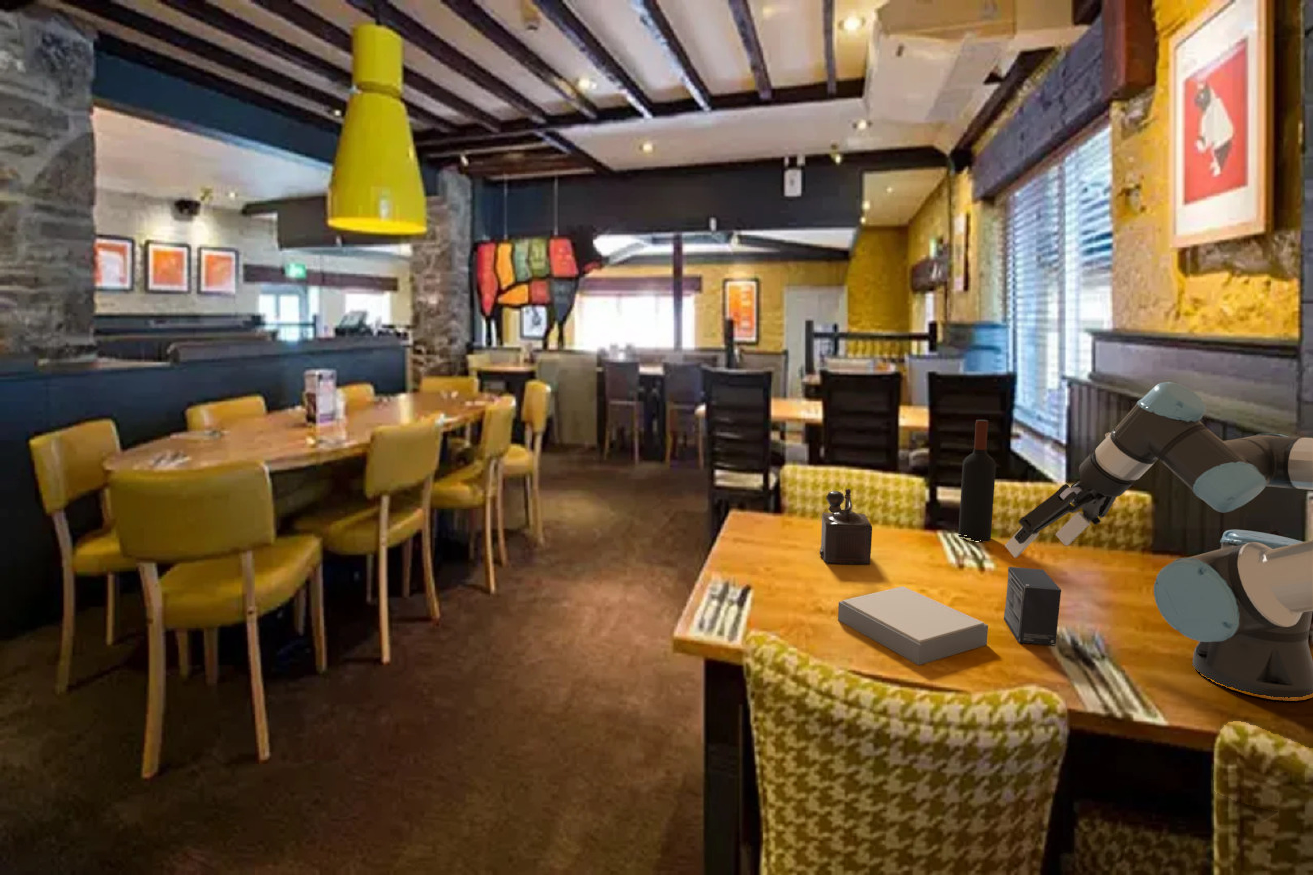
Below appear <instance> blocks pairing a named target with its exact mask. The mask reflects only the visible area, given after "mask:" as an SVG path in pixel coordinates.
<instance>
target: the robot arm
mask: <svg viewBox="0 0 1313 875" xmlns="http://www.w3.org/2000/svg"><path fill="white" fill-rule="evenodd" d="M1206 412H1207V405H1206V403H1205V402H1204V401H1203V400H1202V397H1200V396H1199V395H1198V394H1197V393H1196V392H1194V391H1193V390H1191V389H1190V388H1189V387H1186V386H1184V385H1182V384H1179V383H1177V382H1176V383H1175V382H1171V381H1165V382H1160V383H1158V384H1156V385H1155V386H1154V387H1152V389H1150V390H1149V392H1147V393H1146V394H1145V395H1144V396H1143V397H1142V398H1141V399H1139V400H1137V402H1136V403H1135V405H1134V406H1133V407H1132V408H1131V410H1130V411H1129V412H1128V413H1127V415H1125V416H1124V418H1122V420H1121V421H1120V422H1119V423H1118V424H1117V425H1116V427H1114V428H1113V430H1111V432H1106V433H1105V434H1104V437H1105V439H1103V441H1102V442H1100V444H1098V446H1097V447H1096V449H1095V450H1094V451H1092V452H1091V453H1090V454H1089V455H1088V456H1086V458H1085V459H1084V461H1083V462H1081V464H1080V465H1079V467H1078V473H1079V477H1080V480H1078V481H1075V482H1074V483H1073V484H1072V485H1070V486H1069V485H1068V484H1067V483H1065V484H1063V485H1061V487H1059V489H1057V490H1056V492H1054V493H1053V494H1051V495H1050V496H1049V497H1048V498H1047V499H1045V500H1044V501H1042V503H1040V504H1039V505H1038V506H1036V507H1034V509H1032V510H1031V511H1029V512H1028V513H1027V514H1026V515H1024V516H1022V517H1021V518H1020V519H1019V520H1018V523H1019V524H1020V525H1021V526H1020V528H1019V529H1018V530H1017V531H1016V532H1015V533H1014V535H1013V536H1012V537H1011V538H1010V539H1008V541H1007V542H1006V543H1005V544H1004V547H1005V548H1006V549H1007V550H1008V551H1009V553H1010V554H1011V556H1013V558H1015V559H1016V558H1018V557H1019V556H1020V555H1021V554H1022V553H1023V552H1024V551H1025V550H1026V549H1027V547H1029V546H1030V544H1031V543H1033V541H1034V540H1035V539H1036V538H1037V537H1038V536H1039V535H1040V533H1039V532H1041V531H1042V530H1044V529H1045V528H1046V527H1049V526H1050V525H1051V524H1053V523H1054V522H1056V521H1058V520H1060V519H1061V518H1062V517H1064V516H1065V515H1067V514H1069V513H1071V514H1073V516H1072V517H1070V519H1069V520H1068V521H1067V522H1065V524H1064V525H1063V526H1062V527H1061V528H1060V529H1059V530H1058V531H1057V532H1056V533H1055V536H1056V537H1057V538H1058V539H1059V540H1060V542H1062V544H1063V545H1064V546H1065V547H1066V546H1069V545H1070V544H1071V543H1072V542H1074V540H1075V539H1076V538H1077V537H1078V536H1079V535H1080V534H1081V533H1082V532H1083V531H1084V530H1086V528H1088V526H1090V524H1091V522H1092V524H1093V525H1094V526H1096V525H1098V524H1100V523H1101V521H1102V520H1100V519H1101V518H1104V517H1106V515H1107V514H1108V512H1109V511H1110V509H1111V507H1112V505H1113V504H1114V503H1115V501H1116V499H1117V498H1118V497H1120V496H1122V495H1123V494H1124V493H1125V492H1126V491H1127V490H1128V489H1130V487H1131V486H1133V485H1134V484H1135V482H1136V480H1140V478H1141V477H1142V476H1143V475H1144V474H1145V473H1146V472H1147V471H1148V470H1149V469H1150V468H1151V467H1152V466H1153V465H1154V464H1155V463H1156V462H1157V461H1158V460H1159V461H1160V462H1161V463H1162V464H1163V465H1165V467H1167V468H1168V470H1170V471H1171V473H1173V474H1174V475H1175V476H1177V478H1178V479H1179V480H1180V481H1181V482H1182V483H1183V484H1184V485H1186V487H1187V488H1188V489H1190V490H1191V491H1192V492H1193V493H1194V495H1195V496H1196V497H1197V498H1198V499H1199V500H1202V501H1204V502H1205V503H1206V504H1207V505H1208V506H1210V508H1212V509H1213V510H1215V511H1216V512H1219V513H1229V512H1233V511H1234V510H1236V509H1238V508H1241V507H1243V506H1245V505H1246V504H1247V503H1249V502H1251V501H1252V500H1254V499H1255V498H1256V497H1257V496H1258V495H1260V493H1261V492H1262V491H1264V489H1265V488H1266V487H1274V488H1285V489H1299V490H1300V489H1301V490H1310V491H1313V437H1295V436H1294V437H1293V436H1288V435H1285V434H1280V433H1258V434H1255V435H1251V436H1247V437H1246V436H1245V437H1239V438H1235V439H1228V440H1222V439H1221V438H1220V437H1218V436H1217V435H1216V434H1214V432H1212V431H1211V430H1210V429H1209V428H1208V427H1207V426H1206V425H1205V424H1204V423H1202V422H1201V420H1202V418H1203V416H1204V415H1205V414H1206ZM1079 510H1081V511H1079ZM1074 513H1075V514H1074ZM1219 543H1220V548H1219V549H1215V550H1211V551H1208V552H1205V553H1203V552H1202V553H1201V554H1197V555H1193V556H1189V557H1181V558H1177V559H1174V560H1173V561H1172V562H1170V563H1168V564H1167V565H1165V566H1163V568H1161V569H1160V571H1159V572H1158V573H1157V575H1156V578H1155V582H1154V583H1153V594H1154V595H1153V597H1154V600H1155V604H1156V607H1157V608H1158V611H1159V613H1160V614H1161V616H1162V618H1163V619H1164V620H1165V621H1166V622H1167V623H1168V625H1169V626H1170V627H1172V628H1173V629H1174V630H1176V631H1178V632H1179V633H1180V634H1181V635H1183V636H1184V637H1187V638H1188V639H1190V640H1194V641H1197V645H1196V646H1195V647H1194V650H1193V656H1192V663H1193V664H1192V667H1193V666H1194V667H1195V669H1196V670H1198V671H1199V672H1200V673H1201V674H1203V675H1204V676H1206V677H1207V678H1210V679H1212V680H1214V681H1215V682H1217V683H1220V684H1223V685H1225V686H1227V687H1233V688H1235V689H1238V690H1241V691H1246V692H1250V693H1253V694H1258V695H1266V696H1271V697H1272V696H1273V697H1284V698H1285V697H1288V698H1290V697H1303V696H1306V695H1310V694H1312V693H1313V656H1312V652H1311V649H1310V646H1309V634H1310V629H1311V624H1312V623H1311V622H1312V618H1313V539H1310V540H1307V541H1302V540H1297V539H1294V538H1290V537H1285V536H1281V535H1276V534H1272V533H1267V532H1262V531H1261V532H1260V531H1253V530H1244V529H1228V530H1225V531H1224V532H1223V534H1222V537H1221V538H1220V540H1219ZM1194 667H1193V668H1194ZM1195 669H1194V670H1195ZM1196 670H1195V671H1196Z"/></svg>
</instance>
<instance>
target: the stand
mask: <svg viewBox="0 0 1313 875" xmlns="http://www.w3.org/2000/svg"><path fill="white" fill-rule="evenodd" d="M837 611H838V612H837V614H838V615H837V621H838V622H840V623H843V624H844V625H846V626H848V627H849V628H852V629H853V630H855V631H857V632H858V633H860V634H862V635H864V636H866V637H867V638H869V639H872V641H875V642H876V643H878V644H879V645H882V646H884V647H886V648H887V649H889V650H890V651H893V652H894V653H896V654H898V655H900V656H901V657H902V658H905V659H907V660H909V661H910V662H912V663H913V664H915V665H917V666H921V665H923V664H924V665H925V664H927V663H930V662H934V661H937V660H940V659H944V658H947V657H950V656H954V655H957V654H960V653H963V652H967V651H970V650H974V649H977V648H981V647H984V646H987V645H988V633H989V632H988V631H989V625H988V624H986V623H985V622H984V621H982V620H979V619H977V618H975V617H972V616H970V615H967V614H966V613H964V612H961V611H959V610H957V609H954V608H952V607H950V606H948V605H945V604H944V603H941V602H938V601H936V600H934V599H932V598H930V597H928V596H925V595H923V594H921V593H919V592H917V591H914V590H912V589H910V588H908V587H905V586H904V585H903V586H897V587H894V588H890V589H886V590H885V589H884V590H881V591H876V592H873V593H869V594H863V595H860V596H856V597H855V596H854V597H852V598H847V599H843V600H841V601H838V610H837Z"/></svg>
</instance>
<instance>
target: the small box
mask: <svg viewBox="0 0 1313 875" xmlns="http://www.w3.org/2000/svg"><path fill="white" fill-rule="evenodd" d="M1007 572H1008V573H1007V586H1006V587H1007V588H1006V595H1005V596H1006V597H1005V607H1004V614H1003V619H1004V621H1005V623H1006V625H1007V626H1008V628H1009V629H1010V631H1011V633H1012V634H1013V636H1014V637H1015V639H1016V641H1017V643H1021V644H1032V645H1033V644H1035V645H1044V644H1045V645H1046V646H1048V645H1047V644H1057V635H1058V634H1057V633H1058V623H1059V617H1060V616H1059V615H1060V614H1059V613H1060V606H1061V596H1062V589H1061V588H1060V586H1058V584H1057V583H1056V582H1055V581H1054V580H1053V579H1052V578H1051V577H1050V576H1049V575H1048V573H1047V572H1046V571H1045V570H1044V569H1040V568H1027V567H1017V566H1016V567H1015V566H1008V567H1007Z"/></svg>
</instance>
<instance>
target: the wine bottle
mask: <svg viewBox="0 0 1313 875" xmlns="http://www.w3.org/2000/svg"><path fill="white" fill-rule="evenodd" d="M974 424H975V430H974V431H975V432H974V446H973V448H974V449H973V451H972V453H970V454H968V456H966V457H965V458H964V459H963V461H962V467H961V468H962V471H961V472H962V473H961V486H960V503H959V519H958V521H959V522H958V534H961V535H958V534H957V535H958V536H960V537H965V538H971V540H974V541H980V540H981V542H980V543H984V542H983V541H987V542H990V541H991V539H992V523H993V509H994V499H995V498H994V497H995V496H994V495H995V483H996V472H997V469H996V468H997V465H996V462H995V460H994V458H993V457H991V456H990V455H989V454H988V452H987V444H988V442H987V441H988V430H989V420H987V419H976V420H975V423H974ZM964 535H967V536H964Z"/></svg>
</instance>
